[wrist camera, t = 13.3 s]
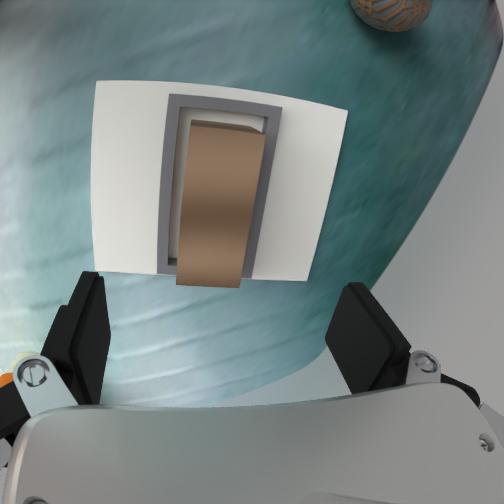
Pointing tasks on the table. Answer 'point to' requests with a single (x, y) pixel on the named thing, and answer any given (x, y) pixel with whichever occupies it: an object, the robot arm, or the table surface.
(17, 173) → the table surface
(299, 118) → the slot board
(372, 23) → the vase
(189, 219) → the walnut bar
